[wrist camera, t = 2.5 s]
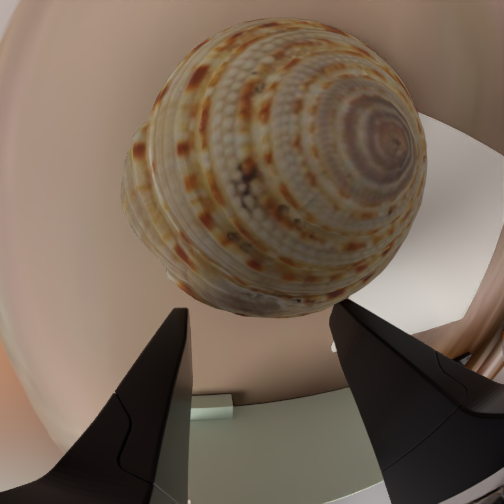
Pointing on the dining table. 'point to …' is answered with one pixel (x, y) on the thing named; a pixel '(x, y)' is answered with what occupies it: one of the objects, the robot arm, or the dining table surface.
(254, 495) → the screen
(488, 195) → the tile
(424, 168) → the seashell
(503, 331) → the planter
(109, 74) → the dining table surface
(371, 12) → the dining table surface
